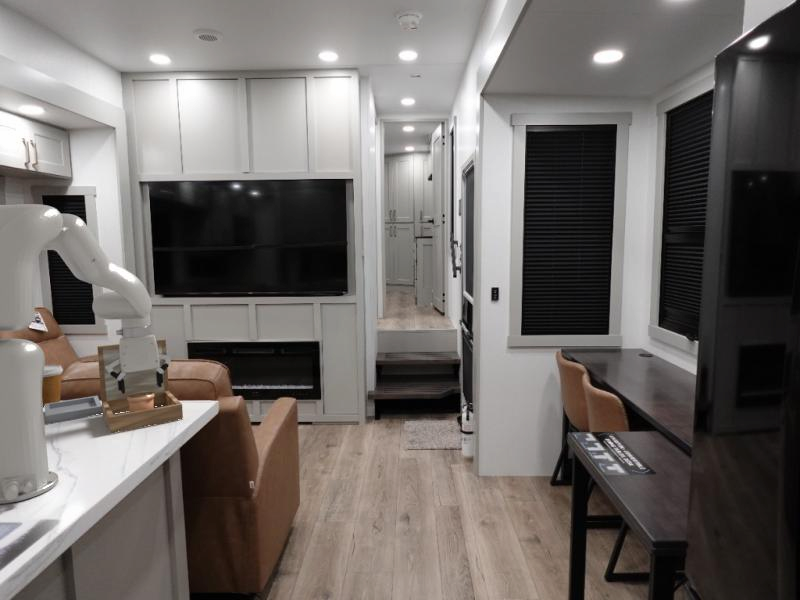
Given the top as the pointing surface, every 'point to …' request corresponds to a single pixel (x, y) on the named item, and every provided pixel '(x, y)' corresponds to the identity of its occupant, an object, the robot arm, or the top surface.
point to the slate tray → (72, 409)
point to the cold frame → (134, 383)
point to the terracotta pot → (140, 401)
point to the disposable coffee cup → (51, 384)
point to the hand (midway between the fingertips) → (141, 389)
